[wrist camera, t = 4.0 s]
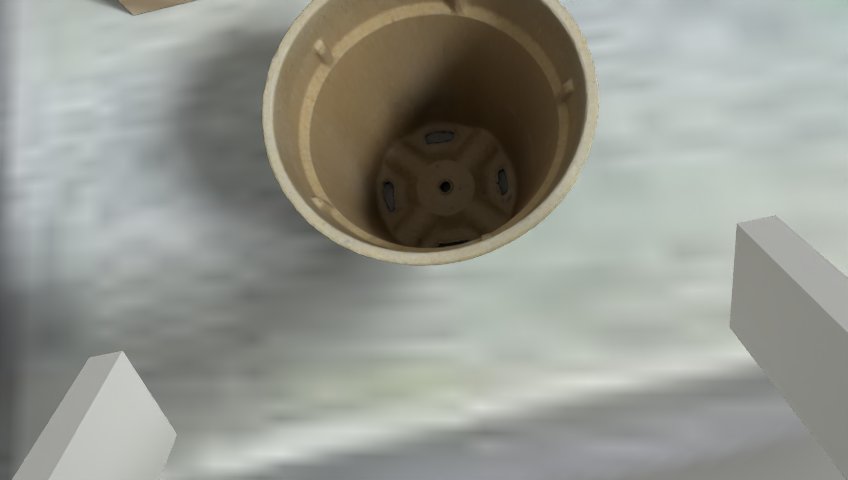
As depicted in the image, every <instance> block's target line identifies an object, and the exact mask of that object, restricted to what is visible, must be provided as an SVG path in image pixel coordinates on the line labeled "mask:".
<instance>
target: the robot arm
mask: <svg viewBox="0 0 848 480" xmlns="http://www.w3.org/2000/svg"><path fill="white" fill-rule="evenodd" d="M730 328H731V330H732V331H733V332H734V334H735V335H736V336H737V337H738V339H739V340H740V341H741V343H742V344H743V345H744V347H745V348H746V349H747V351H748V352H749V353H750V355H751V356H752V357H753V358H754V360H755V361H756V362H757V364H758V365H759V366H760V368H761V369H762V370H763V372H764V373H765V374H766V375H767V377H768V378H769V379H770V381H771V382H772V383H773V385H774V386H775V387H776V389H777V390H778V391H779V393H780V394H781V395H782V396H783V398H784V399H785V400H786V402H787V403H788V404H789V406H790V407H791V408H792V410H793V411H794V412H795V413H796V415H797V416H798V417H799V419H800V420H801V421H802V423H803V424H804V425H805V427H806V428H807V429H808V431H809V432H810V433H811V434H812V436H813V437H814V438H815V440H816V441H817V442H818V444H819V445H820V446H821V448H822V449H823V450H824V451H825V453H826V454H827V455H828V457H829V458H830V459H831V461H832V462H833V463H834V465H835V466H836V467H837V469H838V470H839V471H840V472H841V473H842V475H843V476H844V478H845V479H846V480H848V278H847V277H846V276H845V275H844V274H843V273H842V272H841V271H839V270H838V269H837V268H836V267H835V266H834V265H832V264H831V263H830V262H829V261H828V260H827V259H825V258H824V257H823V256H822V255H821V254H820V253H819V252H817V251H816V250H815V249H814V248H813V247H812V246H810V245H809V244H808V243H807V242H806V241H805V240H803V239H802V238H801V237H800V236H799V235H798V234H797V233H795V232H794V231H793V230H792V229H791V228H790V227H788V226H787V225H786V224H785V223H784V222H783V221H781V220H780V219H779V218H778V217H777V216H771V217H766V218H762V219H757V220H752V221H747V222H742V223H737V230H736V244H735V258H734V272H733V286H732V301H731V315H730ZM176 436H177V434H176V432H175V431H174V429H173V428H172V426H171V424H170V423H169V421H168V420H167V418H166V417H165V415H164V414H163V412H162V411H161V409H160V408H159V406H158V404H157V403H156V401H155V400H154V398H153V397H152V395H151V394H150V392H149V391H148V389H147V388H146V386H145V384H144V383H143V381H142V380H141V378H140V377H139V375H138V374H137V372H136V371H135V369H134V368H133V366H132V364H131V363H130V361H129V360H128V358H127V357H126V355H125V354H124V352H123V351H118V352H113V353H108V354H103V355H98V356H94V357H89V359H88V360H87V362H86V363H85V365H84V367H83V368H82V370H81V371H80V373H79V374H78V376H77V378H76V379H75V381H74V382H73V384H72V386H71V387H70V389H69V390H68V392H67V393H66V395H65V397H64V398H63V400H62V401H61V403H60V404H59V406H58V408H57V409H56V411H55V412H54V414H53V416H52V417H51V419H50V420H49V422H48V423H47V425H46V427H45V428H44V430H43V431H42V433H41V434H40V436H39V438H38V439H37V441H36V442H35V444H34V445H33V447H32V449H31V450H30V452H29V453H28V455H27V457H26V458H25V460H24V461H23V463H22V464H21V466H20V468H19V469H18V471H17V472H16V474H15V475H14V477H13V479H12V480H160V478H161V475H162V473H163V470H164V467H165V465H166V462H167V460H168V457H169V454H170V452H171V449H172V447H173V444H174V441H175V439H176Z"/></svg>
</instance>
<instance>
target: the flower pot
mask: <svg viewBox="0 0 848 480" xmlns="http://www.w3.org/2000/svg"><path fill="white" fill-rule="evenodd" d="M598 109H599V87H598V82H597V75H596V69H595V66H594V62H593V60H592V58H591V53H590V51H589V49H588V47H587V43H586V41H585V39H584V37H583V35H582V33H581V31H580V29H579V28H578V26H577V24H576V22H575V21H574V19H573V18H572V17H571V16H570V14H569V13H568V12H567V10H566V8H565V7H563V6H562V5H561V4H560V2H559V1H558V0H313V1H312V2H311V3H310V4H309V5H308V6H307V7H306V8H305V9H304V10H303V12H302V13H301V14H300V15H299V16H298V17H297V18H296V20H295V21H294V22H293V23H292V24H291V26H290V28H289V29H288V31H287V32H286V34H285V36H284V37H283V39H282V41H281V43H280V45H279V47H278V49H277V51H276V53H275V55H274V57H273V59H272V61H271V64H270V67H269V71H268V74H267V79H266V85H265V89H264V93H263V106H262V128H263V136H264V143H265V147H266V152H267V156H268V160H269V163H270V166H271V168H272V171H273V173H274V176H275V178H276V180H277V181H278V183H279V185H280V187H281V189H282V190H283V192H284V194H285V195H286V197H287V198H288V199H289V201H290V202H291V204H292V205H293V206H294V207H295V209H296V210H297V211H298V212H299V213H300V214H301V215H302V216H303V217H304V218H305V219H306V221H307V222H308V223H309V224H310V225H312V226H313V227H314V228H315V229H317V230H318V231H319V232H320V233H322V234H323V235H325V236H326V237H328V238H329V239H331V240H332V241H334V242H336V243H337V244H339V245H341V246H343V247H345V248H347V249H349V250H351V251H354V252H356V253H358V254H361V255H363V256H366V257H369V258H373V259H377V260H380V261H385V262H390V263H396V264H404V265H415V266H425V265H441V264H448V263H454V262H460V261H464V260H468V259H471V258H475V257H478V256H481V255H483V254H486V253H489V252H491V251H494V250H496V249H498V248H500V247H502V246H504V245H506V244H508V243H510V242H512V241H513V240H515V239H517V238H519V237H520V236H522V235H523V234H525V233H526V232H528V231H529V230H531V229H532V228H534V227H535V226H536V225H538V224H539V223H540V222H541V221H542V220H544V219H545V218H546V217H547V216H548V215H549V214H550V213H551V212H552V211H553V210H554V209H555V208H556V206H557V205H558V204H559V203H560V202H561V201H562V200H563V199H564V198H565V196H566V195H567V193H568V192H569V190H570V189H571V188H572V186H573V184H574V183H575V181H576V179H577V178H578V176H579V174H580V172H581V170H582V168H583V166H584V164H585V163H586V160H587V157H588V155H589V152H590V149H591V147H592V143H593V139H594V136H595V130H596V126H597V119H598ZM433 132H442V133H445V132H451V133H454V138H453V140H451V141H444V142H436V143H431V144H427V141H426V136H427V135H429V134H430V133H433ZM500 170H504V173H505V176H506V182H507V191H506V193H505V194H504V195H501V190H500V186H499V185H498V184H497V183H496V182H498V180H499V174H498V172H499V171H500ZM388 181H389V182H390V183H392V184H393V186H394V194H393V197H394V203H395V210H394V211H392V212H390V211H389V207H388V206H387V204H386V200H385V195H384V185H385V183H387V182H388ZM443 182H448V183H449V184H450V186H451V187H450V190H449V191H448V192H443V191H442V190H441V188H440V186H441V184H442V183H443ZM464 240H467V241H468V242H467V243H463V244H459V245H455V246H448V247H440V248H438V247H439V245H440V244H445V243H453V242H459V241H464Z"/></svg>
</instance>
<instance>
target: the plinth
mask: <svg viewBox="0 0 848 480" xmlns="http://www.w3.org/2000/svg"><path fill="white" fill-rule="evenodd" d="M118 1H119V2H120V3H121V4H122V5H123V6H124V7H125V8H127V9H128V10H129V11H130V12H131V13H132V14H133V15H137V14H141V13H145V12H149V11H154V10H158V9H162V8H166V7H170V6H174V5H178V4H182V3H186V2H190V1H195V0H118Z"/></svg>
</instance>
